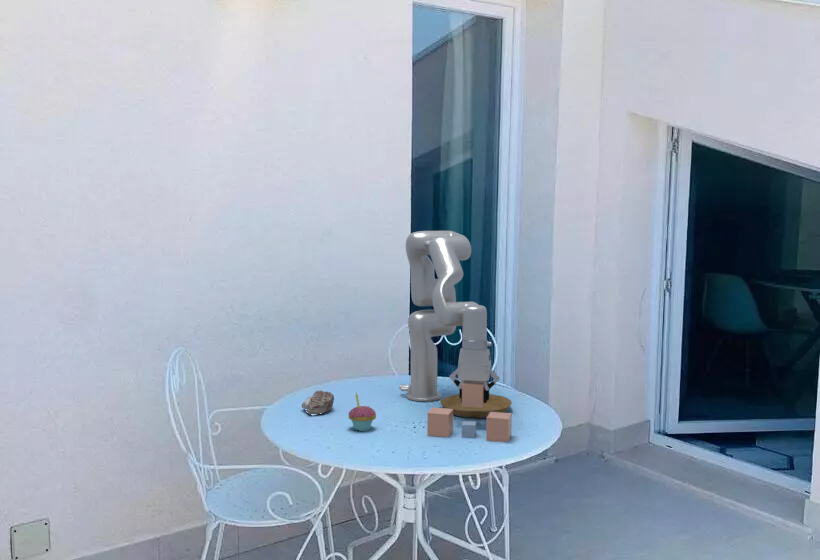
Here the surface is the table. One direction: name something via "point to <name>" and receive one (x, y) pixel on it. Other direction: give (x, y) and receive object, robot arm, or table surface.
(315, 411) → the seashell
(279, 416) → the table surface
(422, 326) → the robot arm
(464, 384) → the toy block
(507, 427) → the salmon orange block
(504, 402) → the plant saucer
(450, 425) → the peach toy brick
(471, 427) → the cube
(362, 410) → the cupcake
